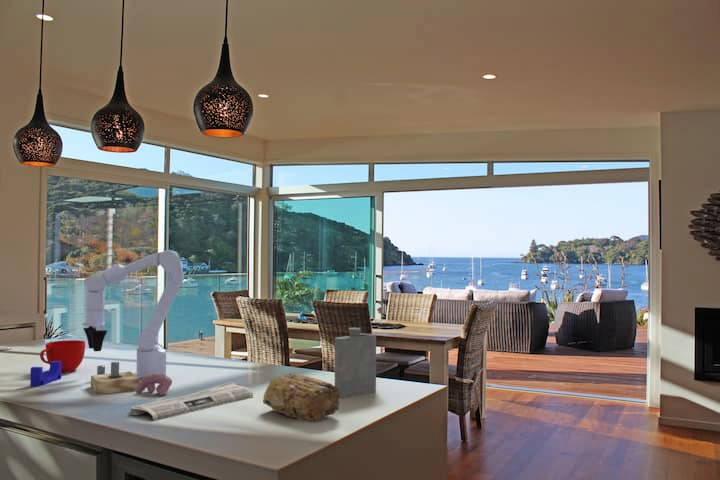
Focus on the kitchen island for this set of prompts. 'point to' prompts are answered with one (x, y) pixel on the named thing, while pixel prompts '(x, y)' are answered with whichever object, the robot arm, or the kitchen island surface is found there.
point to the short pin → (100, 370)
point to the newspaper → (194, 401)
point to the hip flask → (355, 363)
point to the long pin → (114, 369)
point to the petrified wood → (302, 397)
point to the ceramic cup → (65, 353)
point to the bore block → (114, 383)
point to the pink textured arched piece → (154, 379)
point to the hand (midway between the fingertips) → (94, 349)
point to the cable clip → (46, 374)
